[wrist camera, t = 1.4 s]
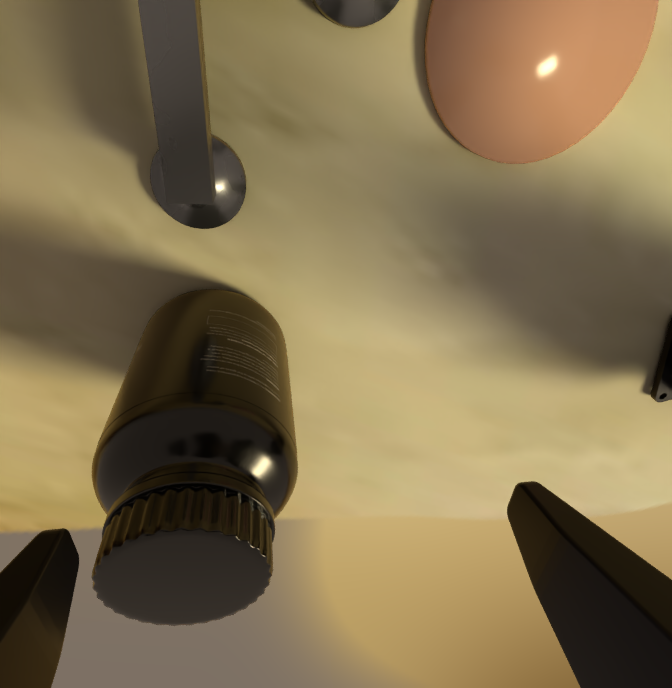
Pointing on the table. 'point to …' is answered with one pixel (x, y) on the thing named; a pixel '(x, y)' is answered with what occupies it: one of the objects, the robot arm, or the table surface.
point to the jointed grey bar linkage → (203, 109)
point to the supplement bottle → (196, 463)
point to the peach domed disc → (531, 70)
